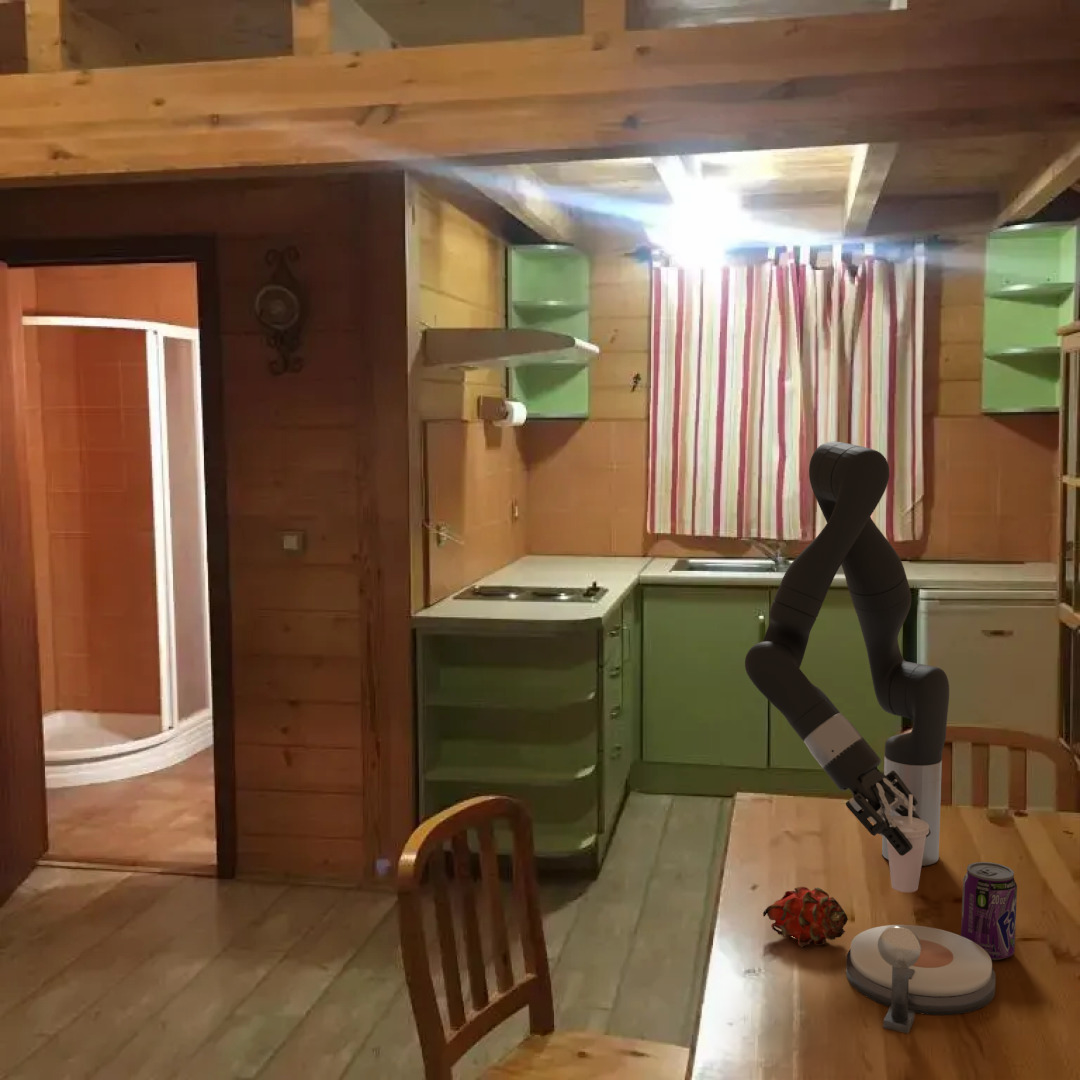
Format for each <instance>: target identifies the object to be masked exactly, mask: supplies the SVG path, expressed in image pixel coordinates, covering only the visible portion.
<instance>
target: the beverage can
mask: <svg viewBox="0 0 1080 1080" xmlns="http://www.w3.org/2000/svg"><path fill="white" fill-rule="evenodd" d="M965 873H966V874H965V875H964V876H963V879H962V899H961V901H962V902H961V904H962V905H961V924H960V925H961V928H960V931H961V932H960V936H962V937H965V938H967V939H969V940H971V941H973V942H974V943H976V944H978V945H979V946H981V947H982V948H983V949H984V950H985V951H986V952H987V953H988V954H989V956H990V958H991V961H999V960H1003V959H1005V958H1009V957H1012V956H1013V955H1014V954H1015V946H1016V923H1017V903H1018V902H1017V895H1018V885H1017V882H1016V880H1015V872H1014V870H1013V869H1012V868H1010V867H1009V866H1006V865H1003V864H1000V863H995V862H989V861H979V862H972V863H970V864H968V865H967V867H966V872H965Z"/></svg>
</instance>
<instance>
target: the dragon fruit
mask: <svg viewBox="0 0 1080 1080" xmlns="http://www.w3.org/2000/svg"><path fill="white" fill-rule="evenodd" d="M766 915H767V916H768V919H769V920H770V921H775V922H773V923H772V924H770V927H771V928H772V929H771V930H773V931H774V932H775V933H777V935H779V936H783V937H784V936H789V937H790V936H793V937H795V938H796V939H795V940H797V944H798V946H799V947H801V946H802V948H803V947H804V946H809V945H810V943H811V942H813V943H814V944H815V946H822V945H825V944H827V940H830V941H833V940H836V938H842V936H843V935H844V934H845V932H846V931H845V930H844V927H845V926H846V924H847V922H848V921H849V918H848V916H847V913H845V910H844V909H843V908H842V905H841V904H840V903H839V901H837V899H836V898H835V897H833V896H832V897H831V896H829V893H827V892H826V891H825V890H823V889H822V888H821V887H814V889H812V890H811V889H809V888H808V887H806V886H797V887H795V888H794V890H787V891H785V892H784V895H783V896H782V897H781V898H780V899H777V900H776V901H774V903H772V904H770V905H768V906H767V907H766V909H764V911H763V912H762V916H763V918H765V917H766Z"/></svg>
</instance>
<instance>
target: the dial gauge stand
mask: <svg viewBox="0 0 1080 1080" xmlns="http://www.w3.org/2000/svg"><path fill="white" fill-rule="evenodd" d="M893 925H894V926H890V927H888V928H886V929H885V930H884V931H883V932H882V934H881V935H880V937H879V940H878V950H879V953H880V955H881V957H882V958H883V959H884V960H885V961H886V962H887V963H888V964H890V965H891V966H892V997H891V1006H890V1007H889V1008H888V1009H887V1012H886V1014H885V1016H884V1018H883V1025H882V1026H883V1029H887V1030H892V1031H895V1032H901V1033H905V1034H909V1033H910V1031H911V1028H912V1026H913V1024H914V1021H915V1017H916V1013H915V1011H911V1010H908V991H909V967H911V966H912V965H914V964H915V963H916V962H917V960H918V958H919V956H920V953H921V944H920V941H919V939H918V937H917V936H916V934H915V933H914V932H913V931H911V930H910V929H908V928H906V927H904V926H900V925H901V924H893Z"/></svg>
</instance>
